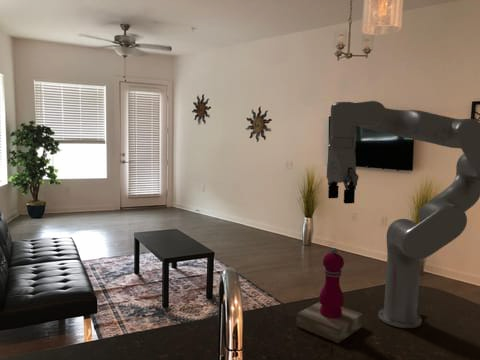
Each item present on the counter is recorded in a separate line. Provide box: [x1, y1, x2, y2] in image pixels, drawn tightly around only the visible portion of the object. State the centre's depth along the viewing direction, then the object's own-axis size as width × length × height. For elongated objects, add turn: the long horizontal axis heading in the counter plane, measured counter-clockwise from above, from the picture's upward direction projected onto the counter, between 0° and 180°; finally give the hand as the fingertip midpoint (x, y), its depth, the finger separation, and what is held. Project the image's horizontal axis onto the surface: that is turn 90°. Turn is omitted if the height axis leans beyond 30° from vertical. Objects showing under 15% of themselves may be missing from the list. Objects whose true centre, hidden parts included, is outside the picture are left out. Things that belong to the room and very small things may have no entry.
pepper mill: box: [318, 247, 345, 318], centre depth 121 cm, size 7×7×20 cm
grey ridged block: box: [295, 301, 364, 344], centre depth 123 cm, size 14×14×4 cm
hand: (340, 200), depth 125 cm, fingers open, 9 cm apart
